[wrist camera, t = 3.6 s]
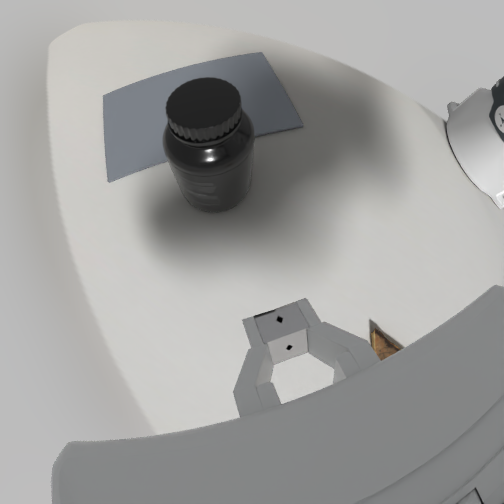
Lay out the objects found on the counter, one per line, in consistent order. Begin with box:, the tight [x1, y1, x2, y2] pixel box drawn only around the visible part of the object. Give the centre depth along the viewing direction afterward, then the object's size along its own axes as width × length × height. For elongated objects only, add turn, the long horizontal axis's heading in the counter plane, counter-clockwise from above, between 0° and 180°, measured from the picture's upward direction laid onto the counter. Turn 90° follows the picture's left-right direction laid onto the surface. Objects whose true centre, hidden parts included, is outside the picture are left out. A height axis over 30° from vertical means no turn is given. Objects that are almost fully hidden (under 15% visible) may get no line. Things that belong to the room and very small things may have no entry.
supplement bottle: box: [162, 77, 255, 212], centre depth 21 cm, size 7×7×12 cm
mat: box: [103, 52, 303, 183], centre depth 28 cm, size 22×14×1 cm, turn 108°
